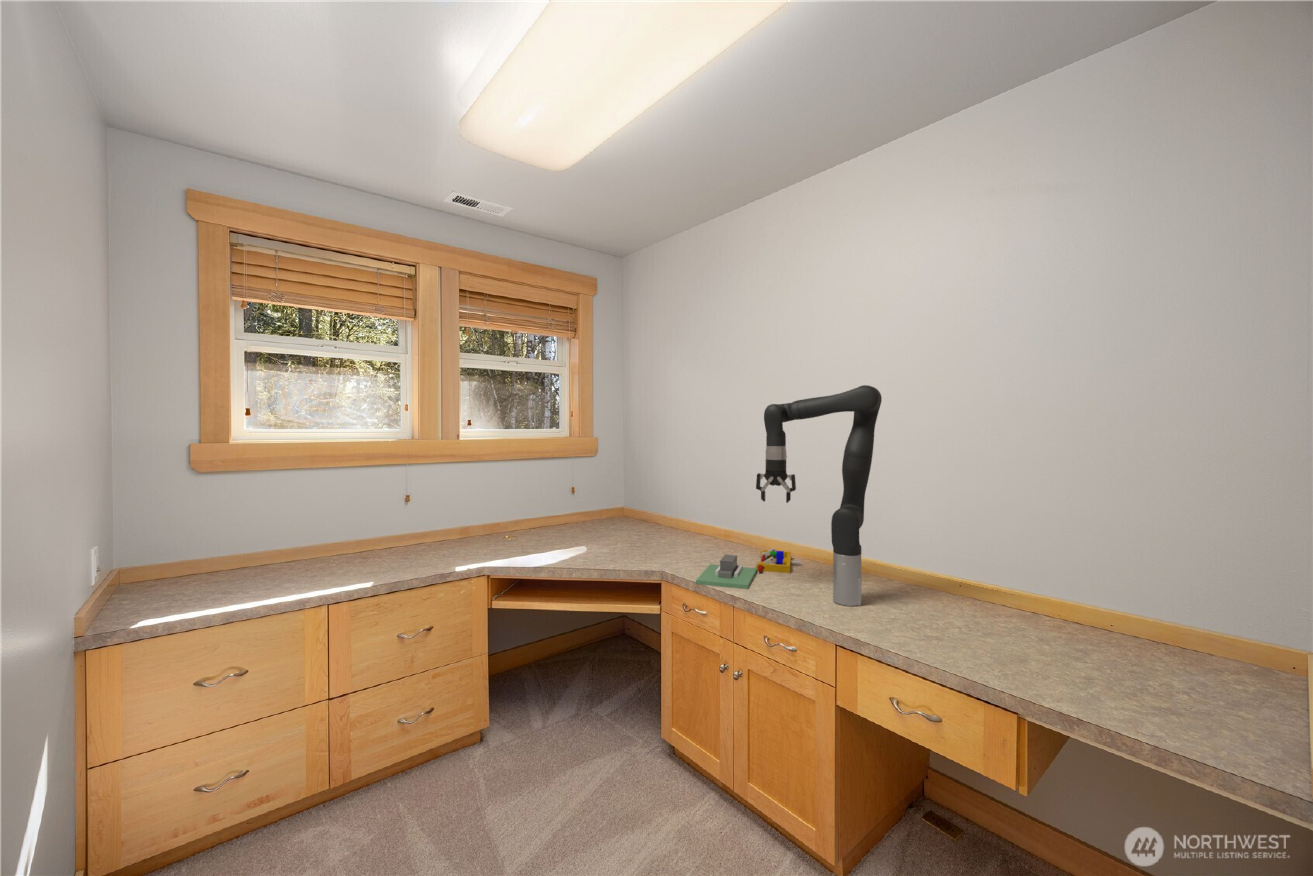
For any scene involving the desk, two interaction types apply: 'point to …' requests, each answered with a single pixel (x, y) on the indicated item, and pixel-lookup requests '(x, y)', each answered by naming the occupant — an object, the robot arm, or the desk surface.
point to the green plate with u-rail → (738, 580)
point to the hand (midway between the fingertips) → (775, 501)
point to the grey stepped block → (727, 566)
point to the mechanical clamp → (781, 561)
